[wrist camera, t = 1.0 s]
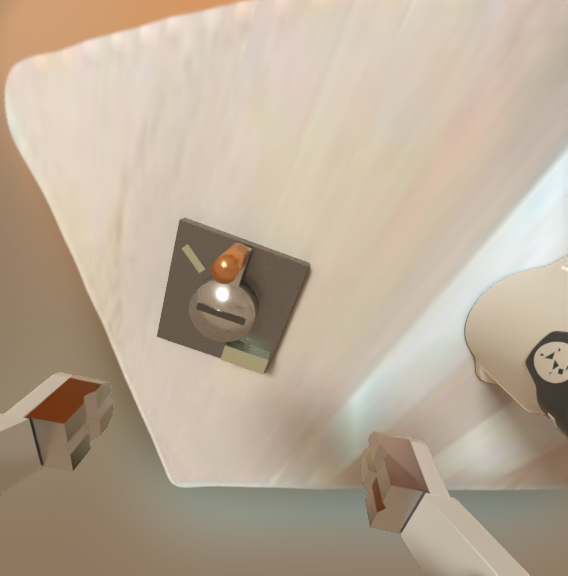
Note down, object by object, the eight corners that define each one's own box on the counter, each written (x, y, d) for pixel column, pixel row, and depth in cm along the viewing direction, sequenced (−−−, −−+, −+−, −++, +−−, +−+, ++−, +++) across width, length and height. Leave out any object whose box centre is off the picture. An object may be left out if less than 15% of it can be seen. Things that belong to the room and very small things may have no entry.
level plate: (309, 263, 35) (309, 271, 32) (267, 366, 41) (263, 381, 38) (184, 217, 34) (172, 222, 31) (162, 330, 41) (150, 343, 38)
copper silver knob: (279, 250, 33) (269, 275, 25) (247, 339, 38) (231, 383, 30) (213, 226, 32) (183, 243, 25) (190, 319, 38) (159, 359, 30)
